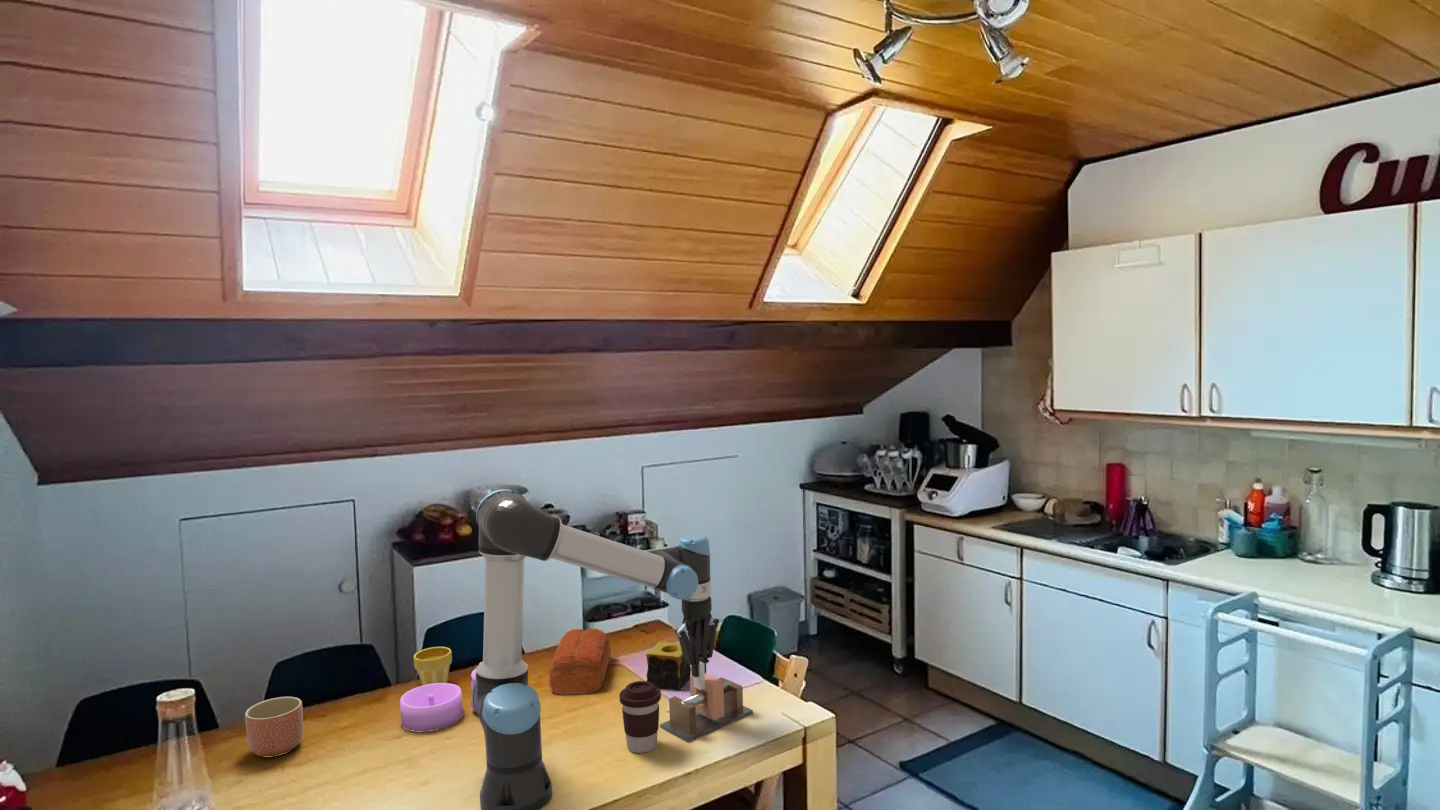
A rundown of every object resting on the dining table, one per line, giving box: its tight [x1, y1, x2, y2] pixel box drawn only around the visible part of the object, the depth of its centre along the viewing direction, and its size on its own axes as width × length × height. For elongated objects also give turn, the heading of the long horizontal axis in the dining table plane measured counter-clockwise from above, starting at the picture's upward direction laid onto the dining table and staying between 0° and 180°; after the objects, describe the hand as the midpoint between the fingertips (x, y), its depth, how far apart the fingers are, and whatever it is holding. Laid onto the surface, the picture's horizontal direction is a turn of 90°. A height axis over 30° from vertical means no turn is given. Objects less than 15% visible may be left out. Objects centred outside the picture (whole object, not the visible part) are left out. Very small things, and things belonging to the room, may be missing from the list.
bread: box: [548, 628, 611, 696], centre depth 243 cm, size 16×27×11 cm, turn 2°
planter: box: [244, 696, 304, 757], centre depth 203 cm, size 12×12×11 cm
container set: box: [399, 661, 482, 732], centre depth 220 cm, size 25×15×13 cm, turn 106°
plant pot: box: [413, 646, 453, 686], centre depth 239 cm, size 10×10×10 cm
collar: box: [689, 673, 724, 720], centre depth 213 cm, size 4×9×9 cm, turn 42°
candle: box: [645, 641, 692, 692], centre depth 237 cm, size 10×10×10 cm
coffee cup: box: [618, 680, 662, 754], centre depth 200 cm, size 10×10×15 cm
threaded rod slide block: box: [659, 677, 754, 743], centre depth 213 cm, size 22×11×8 cm, turn 132°
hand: (699, 687), depth 211 cm, fingers closed
